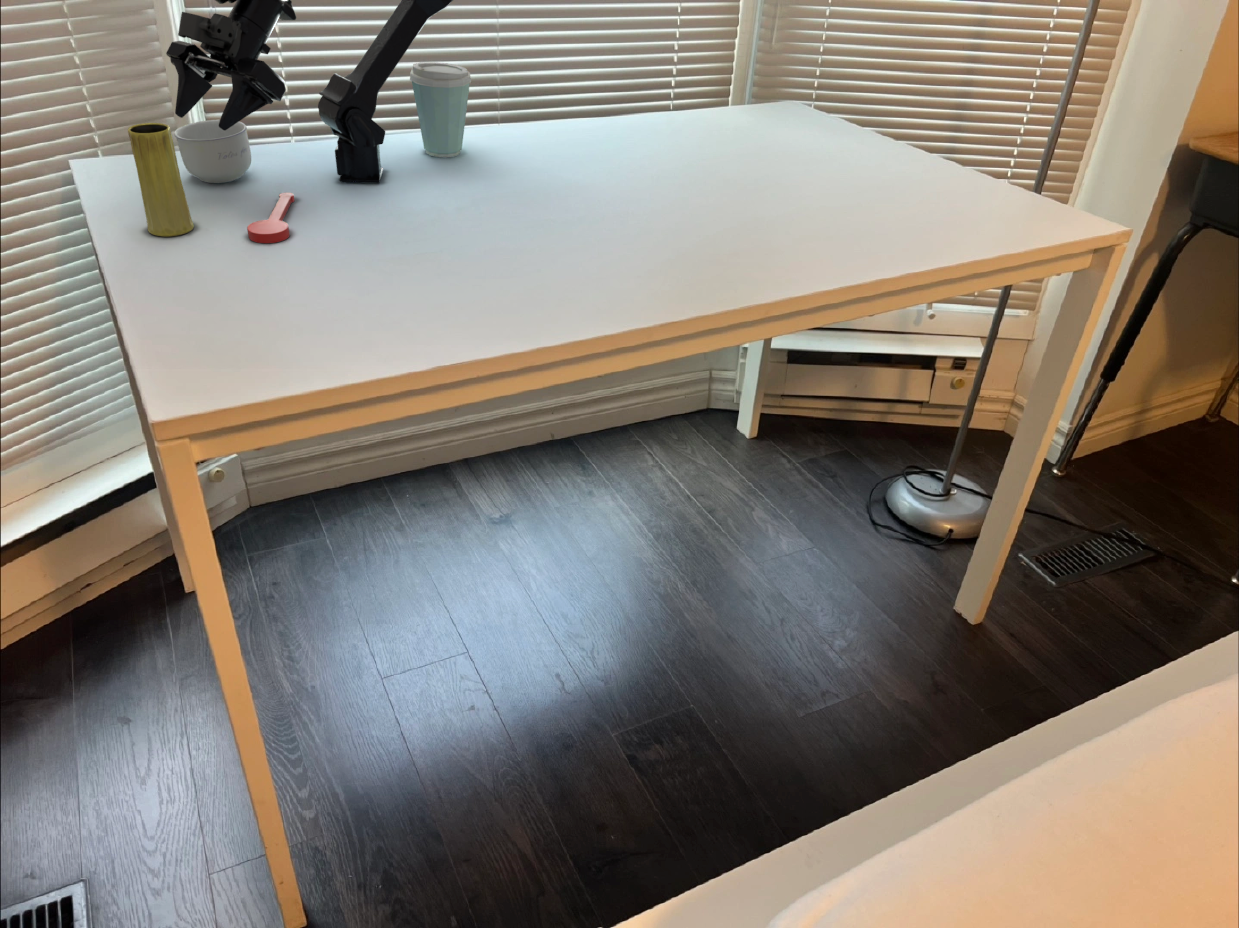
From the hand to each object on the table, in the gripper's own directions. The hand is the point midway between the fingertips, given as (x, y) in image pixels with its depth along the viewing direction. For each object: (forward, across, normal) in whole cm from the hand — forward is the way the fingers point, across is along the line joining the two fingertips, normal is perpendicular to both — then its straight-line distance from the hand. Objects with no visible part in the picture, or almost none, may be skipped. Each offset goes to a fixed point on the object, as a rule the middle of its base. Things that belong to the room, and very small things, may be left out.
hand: (199, 122), depth 135 cm
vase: (+15, 0, +4) cm, 16 cm away
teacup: (+1, -13, +18) cm, 23 cm away
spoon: (+7, +8, +12) cm, 16 cm away
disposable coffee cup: (-22, +6, +41) cm, 47 cm away
